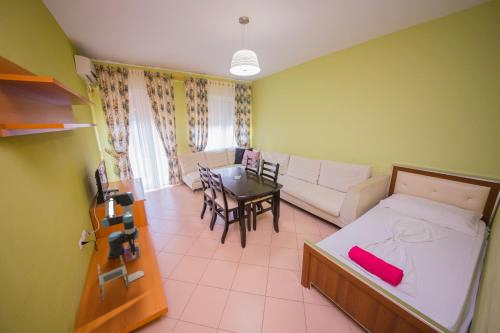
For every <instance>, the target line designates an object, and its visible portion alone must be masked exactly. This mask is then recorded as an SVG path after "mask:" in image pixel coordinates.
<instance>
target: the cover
mask: <svg viewBox="0 0 500 333" xmlns="http://www.w3.org/2000/svg"><path fill="white" fill-rule="evenodd" d="M117 268H118V269H116V268H114V269H115V270H114V269H112V270H113V271H112V270H110V271H111V272H109V271H108V273H107V272H105V273H106V274H104V273H102V274H103V275H102V274H101V276H99V275H98V282H99V287H100V286H101V285H103V286H104V285H105V284H108V283H109V282H112V281H115V280H116V279H118V278H121V277H124V275H125V274H128V271H127V268H126V265H125V266H123V267H121V266H120V268H119V267H117Z"/></svg>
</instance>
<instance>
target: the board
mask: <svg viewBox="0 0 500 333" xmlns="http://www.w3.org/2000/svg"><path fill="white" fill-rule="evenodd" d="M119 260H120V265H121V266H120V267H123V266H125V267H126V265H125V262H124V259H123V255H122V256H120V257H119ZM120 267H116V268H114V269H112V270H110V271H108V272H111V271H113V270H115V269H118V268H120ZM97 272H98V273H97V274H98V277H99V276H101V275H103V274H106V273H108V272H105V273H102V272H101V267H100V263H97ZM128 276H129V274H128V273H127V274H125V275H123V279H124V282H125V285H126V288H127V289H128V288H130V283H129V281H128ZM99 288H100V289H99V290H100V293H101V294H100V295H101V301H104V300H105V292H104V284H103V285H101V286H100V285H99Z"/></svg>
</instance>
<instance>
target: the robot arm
mask: <svg viewBox="0 0 500 333" xmlns="http://www.w3.org/2000/svg"><path fill="white" fill-rule="evenodd" d="M135 201H136V200H135V198H134V194H133V192H132V191H125V192H121V193H120V192H119V193H114V194H111V195H110V196H108V197H106V199H105V201H104V203H103V204H104V207H105V212H104V218H102V219H101V223H100V224H101V227H102V228H109V227H112V226H116V225H121V224H123V231H120V230H118V231H115V232H112V233H111V234H109V235H108V238H107V242H108V248H109V251H108V254H107V256H108V259H118V258H120V256H122V257H123V256H125V252H124V248H125V244H127V243H128V245H131V253H132V259H133V258H136V254H135V251H136V250H135V244H136V243H135V240H138V239H139V228H137V226H135V219H134V210H133V205H134V203H135ZM117 206H120V207H121V208H122V214H118V215H117V213H116V209H117V208H116V207H117ZM133 260H134V259H133Z"/></svg>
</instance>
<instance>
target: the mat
mask: <svg viewBox="0 0 500 333" xmlns="http://www.w3.org/2000/svg"><path fill="white" fill-rule="evenodd" d="M144 276H145V272H144V270H143V271H140V270H137V271H136V272H133V273H131V274H128V281H129V284H130V283H131V282H134V281H136V280H139V279H140V278H143V277H144Z"/></svg>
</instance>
